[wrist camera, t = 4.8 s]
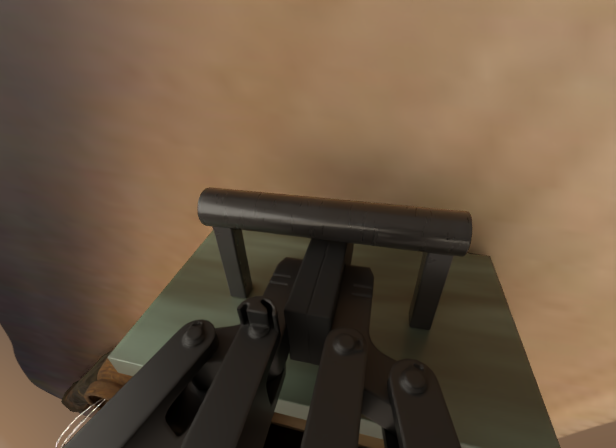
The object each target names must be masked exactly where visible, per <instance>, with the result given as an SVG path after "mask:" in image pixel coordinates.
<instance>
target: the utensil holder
mask: <svg viewBox="0 0 616 448" xmlns="http://www.w3.org/2000/svg"><path fill="white" fill-rule="evenodd" d="M132 377H133V376H130V375H126V374H122V373H118V372H117V370H116V369H115V368H114V366H113V365H112V363H111V362H110V361H109V359H108V358H107V360H106V361H105V362H104V363H103V365H102V366H101V368H100V370H99V372H98V375H97V381H94V382H93V383H91V384H90V386H89V387H88V389H87V391H86V392H85V394H84V398H85V400H86V401H87V402H88V403H89V404H90V405H91V406H90V407H94V409H93V410H92V411H91V412H90V413H89V414H88V415H87V416H86V417H88V416H89V415H90V414H91V413H92V412H93V411H94V410H95V409H97V410H98V411H99V410H100V409H101V408H102V407H103V406H104V405H105V404H106V403H107V402H108V401H109V400H110V399H111V398H112V397H113V396H114V395H115V394H116V393H117V392H118V391H119V390H120V389H121V388H122V387H123V386H124V385H125V384H126V383H127V382H128V381H129V380H130V379H131V378H132ZM90 407H89V408H90ZM89 408H87V409H86V410H88V409H89ZM86 410H85V411H86ZM85 411H83V412H82V413H84V412H85ZM82 413H81V414H82ZM79 416H80V415H79ZM79 416H78V417H79ZM78 417H77V418H78ZM86 417H85V418H86ZM77 418H76V419H77ZM76 419H74V420H76ZM79 424H80V423H79ZM70 426H71V424H70ZM70 426H69V427H70ZM69 427H68V428H69ZM77 427H78V426H77ZM68 428H67V429H68ZM74 430H75V429H74ZM65 432H66V430H65V431H64V433H65ZM64 433H63V434H64ZM72 433H73V432H72ZM61 436H62V435H61ZM61 436H60V438H61ZM60 438H59V439H58V440H60ZM66 440H67V439H66ZM66 440H65V441H66ZM58 442H59V441H57V444H56V448H57V445H58ZM64 445H65V444H64ZM61 447H62V446H61ZM62 448H63V447H62Z"/></svg>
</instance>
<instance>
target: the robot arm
mask: <svg viewBox="0 0 616 448" xmlns="http://www.w3.org/2000/svg"><path fill="white" fill-rule="evenodd" d="M353 249H354V244H353V243H345V242H336V241H328V240H320V239H312V238H311V240H310V243H309V245H308V248H307V251H306V253H305V256H304V258H303V259H298V258H290V257H285V258H284V259H283V260H282V261H281V262H280V263H278V264H277V266H276V268H275V271H274V273H273V276H272V277H271V279H270V281H269V283H268V285H267V287H266V289H265V291H264V294H263V296H254V297H250V298H248V299H246V300H244V301H243V302H241V304H240V305H239V306H238V307H237V312H238V316H239V319H240V323H241V324H238V325H234V326H228V327H219V328H214V325H213V324H212V323H211V322H210V321H207V320H203V319H201V320H194V321H192V322H189V323H187V324H186V325H184V326H183V327H182V328H180V329H179V330H178V331H177V332H176V333H175V334H174V335H173V336H172V337H171V338H170V339H169V340H168V341H167V342H166V343H165V344H164V345H163V346H162V347H161V349H160V350H159V351H158V352H157V353H156V354H155V355H154V356H153V357H152V358H151V359H150V360H149V361H148V362H147V363H146V364H145V365H144V366H143V367H142V368H141V369H140V370H139V371H138V372H137V373H136V374H135V375H134V376H133V377H132V378H131V379H130V380H129V381H128V382H127V383H126V384H125V385H124V386H123V387H122V388H121V389H120V390H119V391H118V392H117V393H116V394H115V395H114V396H113V397H112V398H111V399H110V400H109V401H108V402H107V403H106V404H105V405H104V406H103V407H102V408H101V409H100V410H99V411H98V412H97V413H96V414H95V415H94V416H93V417H92V418H91V419H90V420H89V421H88V422H87V424H85V425H84V426H83V427H82V428H81V429H80V430H79V431H78V432H77V434H76V435H75V436H74V437H73V438H72V439H71V440H70V441H69V442H68V443H67V444H66V445H65V446H64V447H63V448H263V447H264V443H265V440H266V437H267V434H268V430H269V427H270V424H271V421H272V417H273V414H274V411H275V408H276V404H277V401H278V398H279V395H280V392H281V388H282V385H283V382H284V379H285V375H286V360H287V357H288V354H290V360H295V361H300V362H305V363H310V364H314V365H319V369H318V373H317V377H316V382H315V386H314V390H313V395H312V399H311V403H310V408H309V412H308V417H307V421H306V425H305V430H304V434H303V438H302V443H301V447H300V448H358V442H359V432H360V422H361V414H363V415H364V416H366V417H367V418H369V419H370V420H372V421H374V422H375V423H377V424H378V425H380V426H381V429H382V435H383V440H384V446H385V448H461V445H460V442H459V439H458V436H457V433H456V431H455V428H454V425H453V422H452V419H451V416H450V413H449V410H448V407H447V405H446V402H445V399H444V396H443V393H442V390H441V387H440V384H439V382H438V379H437V377H436V376H435V374H434V372H433V371H432V370H431V369H430V368H429V367H428V366H427V365H426V364H424V363H422V362H420V361H418V360H415V359H409V358H406V359H402V360H399V361H396V360H394V359H392V358H390V357H389V356H387V355H385V354H383V353H382V352H380V351H379V350H378V349H377V348H376V347H375V346H374V344H373V343H372V341H371V338H370V334H369V328H370V317H371V307H372V296H373V286H374V275H373V273H372V271H371V269H370V267H364V266H356V265H351V260H352V255H353Z"/></svg>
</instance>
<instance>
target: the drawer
mask: <svg viewBox="0 0 616 448" xmlns="http://www.w3.org/2000/svg"><path fill="white" fill-rule="evenodd" d="M198 216H199V219H200V221H201V223H202V224H204V225H206V226H213V231H212V232H211V233H210V234H209V236H208V237H207V238H206V239H205V240H204V242H203V243H202V244H201V245H200V246H199V248H198V249H197V250H196V251H195V252H194V254H193V255H192V256H191V257H190V258H189V260H188V261H187V262H186V263H185V264H184V266H183V267H182V268H181V269H180V270H179V272H178V273H177V274H176V275H175V277H174V278H173V279H172V280H171V281H170V283H169V284H168V285H167V286H166V287H165V289H164V290H163V291H162V292H161V293H160V295H159V296H158V297H157V298H156V299H155V301H154V302H153V303H152V304H151V305H150V307H149V308H148V309H147V310H146V311H145V313H144V314H143V315H142V316H141V317H140V319H139V320H138V321H137V322H136V323H135V325H134V326H133V327H132V328H131V329H130V331H129V332H128V333H127V334H126V336H125V337H124V338H123V339H122V340H121V342H120V343H119V344H118V345H117V346H116V348H115V349H114V350H113V351H112V352H111V354H110V355H109V356H108V359H109V361H110V362H111V363H112V365H113V366H114V368H115V369H116V370H117V372H118V373H122V374H126V375H130V376H134V375H135V374H136V373H137V372H138V371H139V370H140V369H141V368H142V367H143V366H144V365H145V364H146V363H147V362H148V361H149V360H150V359H151V358H152V357H153V356H154V355H155V354H156V353H157V352H158V351H159V350H160V349H161V347H162V346H163V345H164V344H165V343H166V342H167V341H168V340H169V339H170V338H171V337H172V336H173V335H174V334H175V333H176V332H177V331H178V330H179V329H180V328H182V327H183V326H184V325H186V324H187V323H189V322H192V321H194V320H201V319H203V320H207V321H210V322H211V323H212V324H213V325H214V328H219V327H228V326H234V325H238V324H241V323H240V319H239V316H238V312H237V307H238V306H239V305H240V304H241V302H243V301H244V300H246V299H248V298H250V297H254V296H263V294H264V291H265V289H266V287H267V285H268V283H269V281H270V279H271V277H272V276H273V273H274V271H275V268H276V266H277V264H278V263H280V262H281V261H282V260H283V259H284V258H285V257H290V258H298V259H303V258H304V256H305V253H306V251H307V248H308V245H309V243H310V240H311V238H312V239H320V240H328V241H336V242H345V243H353V244H354V249H353V255H352V260H351V265H356V266H364V267H370V269H371V271H372V273H373V275H374V286H373V296H372V307H371V317H370V328H369V334H370V338H371V341H372V343H373V344H374V346H375V347H376V348H377V349H378V350H379V351H380V352H382V353H383V354H385V355H387V356H389V357H390V358H392V359H394V360H396V361H399V360H402V359H406V358H409V359H415V360H418V361H420V362H422V363H424V364H426V365H427V366H428V367H429V368H430V369H431V370H432V371H433V372H434V374H435V376H436V377H437V379H438V382H439V384H440V387H441V390H442V393H443V396H444V399H445V402H446V405H447V407H448V410H449V413H450V416H451V419H452V422H453V425H454V428H455V431H456V433H457V436H458V439H459V442H460V445H461V448H561V447H560V445H559V442H558V439H557V437H556V434H555V431H554V428H553V426H552V423H551V420H550V418H549V415H548V412H547V409H546V407H545V404H544V401H543V398H542V396H541V393H540V390H539V388H538V385H537V382H536V379H535V377H534V374H533V371H532V368H531V366H530V363H529V360H528V358H527V355H526V352H525V349H524V347H523V344H522V341H521V338H520V336H519V333H518V330H517V328H516V325H515V322H514V319H513V317H512V314H511V311H510V309H509V306H508V303H507V300H506V298H505V295H504V292H503V289H502V287H501V284H500V281H499V279H498V276H497V273H496V270H495V268H494V265H493V262H492V259H491V257H490V256H485V255H477V254H469V253H467V252H468V250H469V247H470V243H471V238H472V217H471V214H470V213H469V212H467V211H457V210H446V209H435V208H425V207H414V206H403V205H392V204H382V203H371V202H360V201H350V200H339V199H328V198H317V197H307V196H296V195H285V194H274V193H264V192H253V191H242V190H232V189H221V188H206V189H205V190H204V191H203V192H202V193H201V195H200V197H199V201H198ZM318 369H319V365H314V364H310V363H305V362H300V361H295V360H290V354H288V357H287V360H286V375H285V379H284V382H283V385H282V388H281V392H280V395H279V398H278V401H277V404H276V408H275V411H274V414H273V417H272V421H271V424H274V425H278V426H282V427H286V428H290V429H293V430H297V431H301V432H304V430H305V425H306V421H307V417H308V412H309V408H310V403H311V399H312V395H313V390H314V386H315V382H316V377H317V373H318ZM358 447H362V448H385V446H384V440H383V435H382V429H381V426H380V425H378V424H377V423H375V422H374V421H372V420H370V419H369V418H367V417H366V416H364V415H363V414H361V422H360V432H359V442H358Z"/></svg>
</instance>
